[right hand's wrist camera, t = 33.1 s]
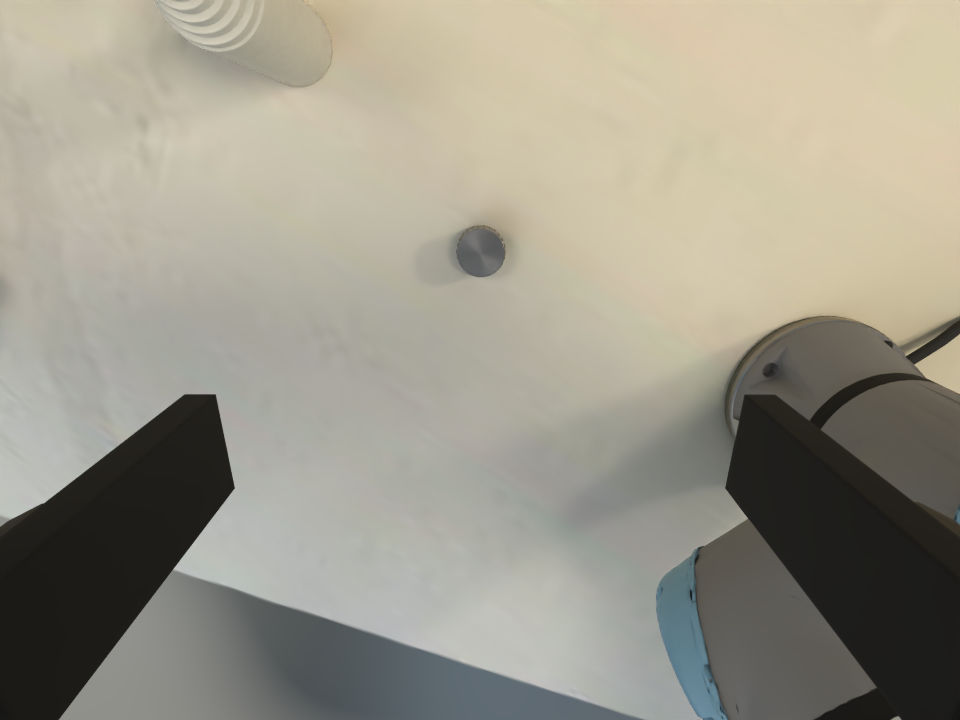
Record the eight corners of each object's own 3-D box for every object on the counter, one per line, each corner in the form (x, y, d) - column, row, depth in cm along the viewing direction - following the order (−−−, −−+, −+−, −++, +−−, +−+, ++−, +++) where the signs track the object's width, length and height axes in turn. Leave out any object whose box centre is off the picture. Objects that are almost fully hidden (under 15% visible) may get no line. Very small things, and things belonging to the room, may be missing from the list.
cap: (513, 243, 42) (515, 247, 40) (486, 281, 43) (486, 287, 41) (475, 215, 41) (475, 217, 40) (448, 255, 43) (446, 259, 41)
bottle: (275, 95, 38) (104, 37, 21) (245, 14, 36) (32, -125, 19) (342, 75, 38) (225, -2, 20) (316, -9, 36) (163, -172, 19)
